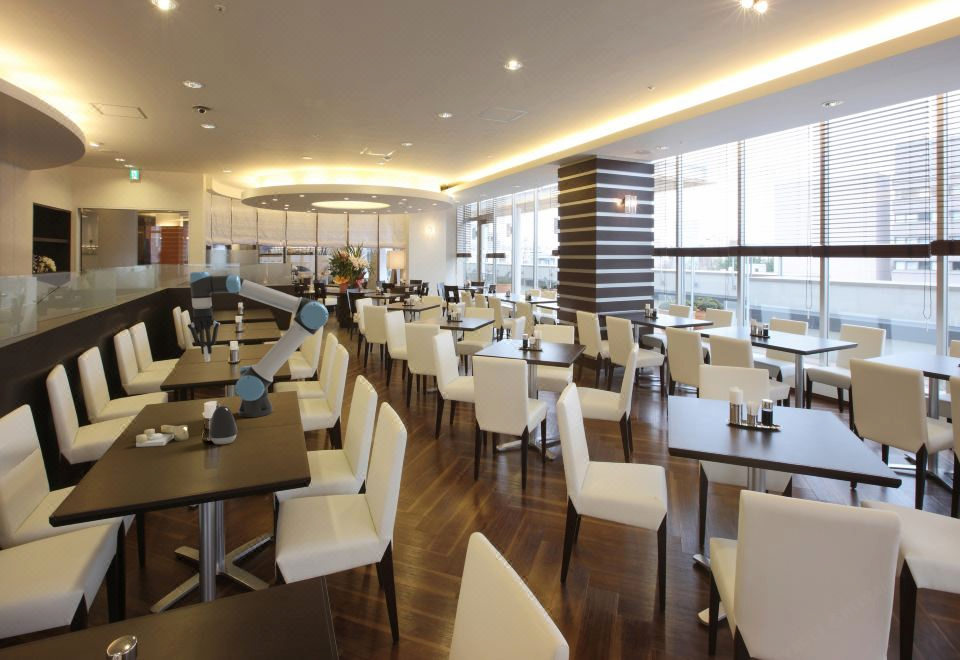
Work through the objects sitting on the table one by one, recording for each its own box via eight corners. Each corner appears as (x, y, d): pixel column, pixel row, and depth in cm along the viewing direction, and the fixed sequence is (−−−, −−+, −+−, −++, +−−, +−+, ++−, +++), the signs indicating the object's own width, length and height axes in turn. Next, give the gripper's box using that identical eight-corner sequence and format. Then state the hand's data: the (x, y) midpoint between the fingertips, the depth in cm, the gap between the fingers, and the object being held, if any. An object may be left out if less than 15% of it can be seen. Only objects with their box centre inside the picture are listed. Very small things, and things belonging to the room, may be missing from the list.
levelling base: (177, 435, 226) (177, 425, 225) (163, 446, 212) (162, 436, 211) (151, 436, 224) (150, 426, 224) (135, 448, 210) (134, 437, 210)
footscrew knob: (191, 437, 221) (190, 425, 221) (181, 441, 217) (180, 429, 216) (168, 434, 225) (167, 423, 224) (158, 438, 220) (157, 426, 220)
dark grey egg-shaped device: (232, 436, 224) (229, 401, 222) (242, 442, 216) (239, 405, 214) (206, 442, 217) (203, 405, 215) (215, 449, 209) (212, 411, 207)
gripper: (221, 306, 238) (225, 358, 242) (189, 307, 236) (194, 360, 239) (216, 307, 231) (221, 361, 234) (183, 309, 229) (188, 363, 232)
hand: (207, 361), depth 237 cm, fingers closed
